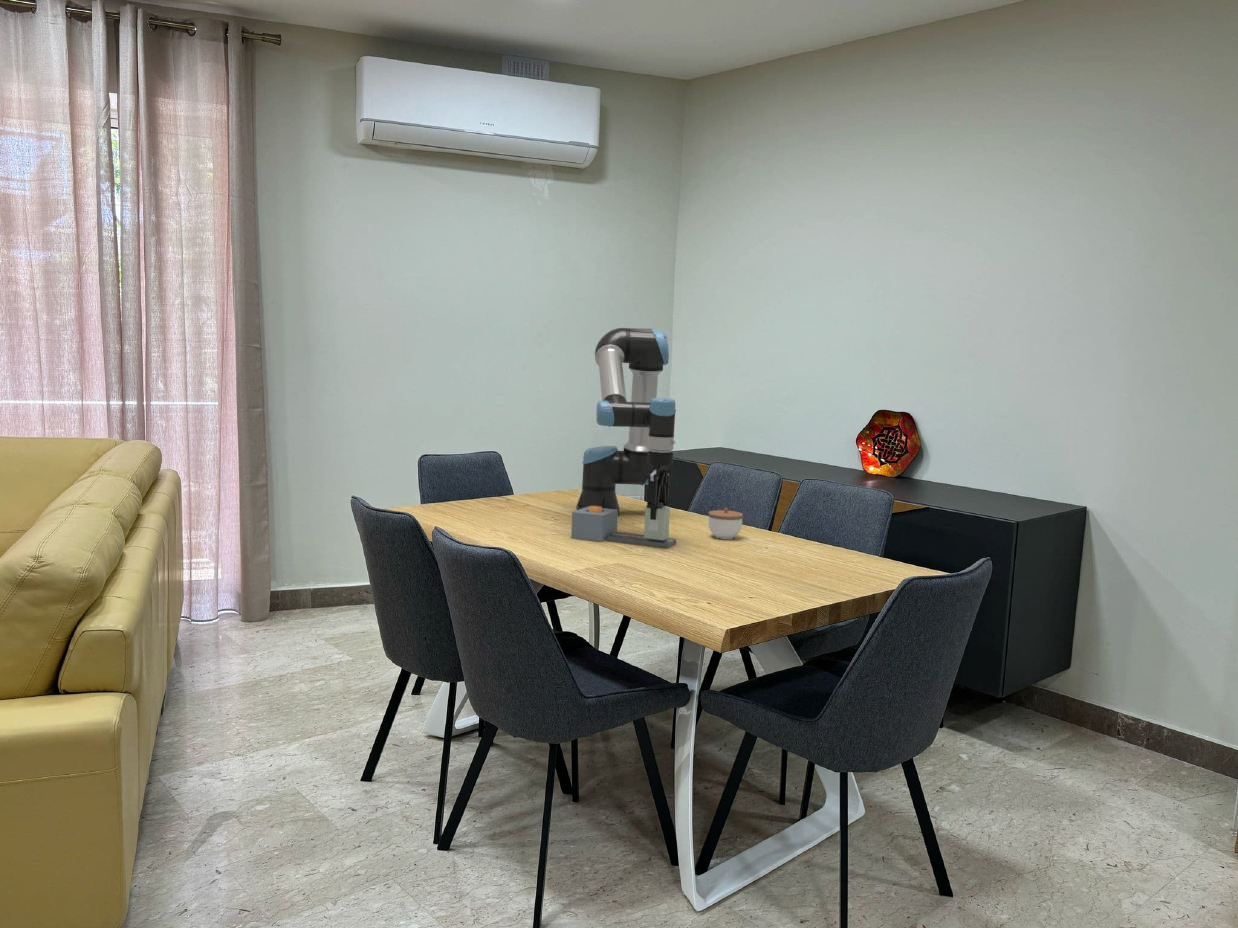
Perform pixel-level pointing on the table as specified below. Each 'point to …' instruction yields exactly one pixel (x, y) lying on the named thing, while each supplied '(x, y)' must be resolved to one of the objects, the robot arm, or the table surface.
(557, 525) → the table surface
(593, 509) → the button
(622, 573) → the table surface
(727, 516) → the lidded jar
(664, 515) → the carriage
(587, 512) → the grey block
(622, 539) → the rail board
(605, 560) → the table surface
